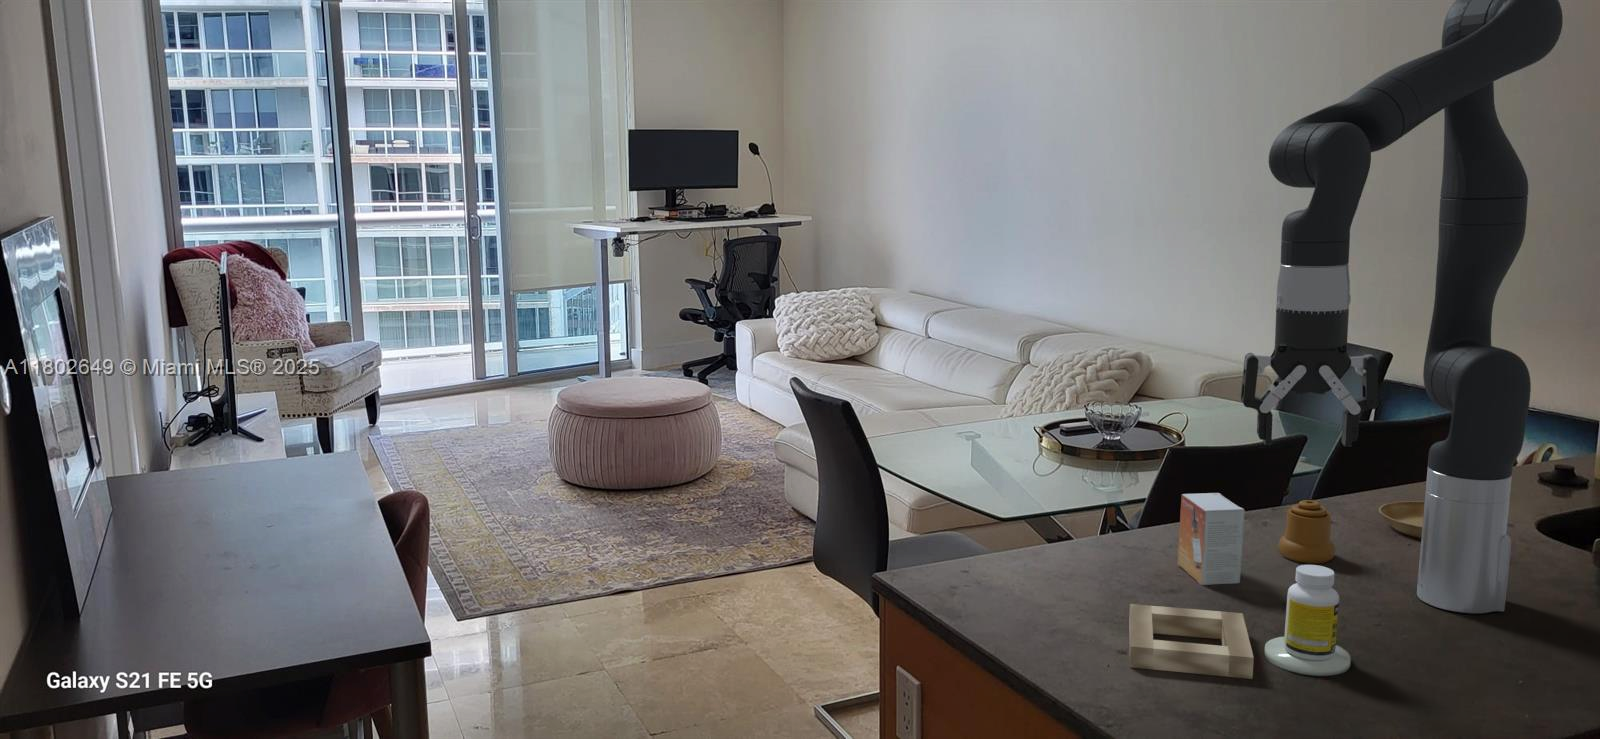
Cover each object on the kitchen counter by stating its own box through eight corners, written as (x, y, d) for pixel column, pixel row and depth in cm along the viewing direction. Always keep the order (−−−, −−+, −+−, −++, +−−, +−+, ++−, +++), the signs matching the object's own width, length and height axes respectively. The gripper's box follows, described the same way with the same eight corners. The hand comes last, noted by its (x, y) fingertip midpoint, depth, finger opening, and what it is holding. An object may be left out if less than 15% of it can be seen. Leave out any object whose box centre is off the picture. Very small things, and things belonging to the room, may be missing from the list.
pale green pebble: (1342, 646, 137) (1343, 640, 137) (1357, 679, 129) (1357, 672, 129) (1260, 639, 140) (1260, 633, 140) (1269, 671, 131) (1269, 664, 131)
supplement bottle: (1340, 663, 131) (1346, 580, 129) (1288, 660, 132) (1293, 577, 130) (1329, 644, 136) (1335, 563, 134) (1279, 640, 137) (1284, 560, 135)
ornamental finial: (1329, 568, 163) (1272, 559, 167) (1339, 553, 169) (1284, 544, 173) (1333, 513, 162) (1275, 504, 166) (1343, 499, 168) (1287, 491, 172)
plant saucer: (1356, 522, 184) (1357, 505, 183) (1430, 512, 188) (1432, 496, 188) (1432, 551, 170) (1434, 534, 169) (1511, 540, 174) (1513, 523, 174)
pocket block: (1241, 632, 142) (1242, 613, 141) (1252, 679, 129) (1253, 657, 129) (1129, 623, 145) (1130, 603, 145) (1129, 667, 133) (1130, 646, 132)
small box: (1176, 565, 165) (1180, 493, 163) (1215, 563, 165) (1219, 491, 163) (1200, 586, 157) (1204, 510, 155) (1241, 584, 158) (1245, 508, 156)
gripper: (1373, 299, 134) (1366, 437, 137) (1241, 300, 138) (1236, 435, 141) (1389, 308, 127) (1381, 454, 130) (1249, 308, 130) (1244, 450, 133)
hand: (1306, 444), depth 135 cm, fingers open, 8 cm apart
